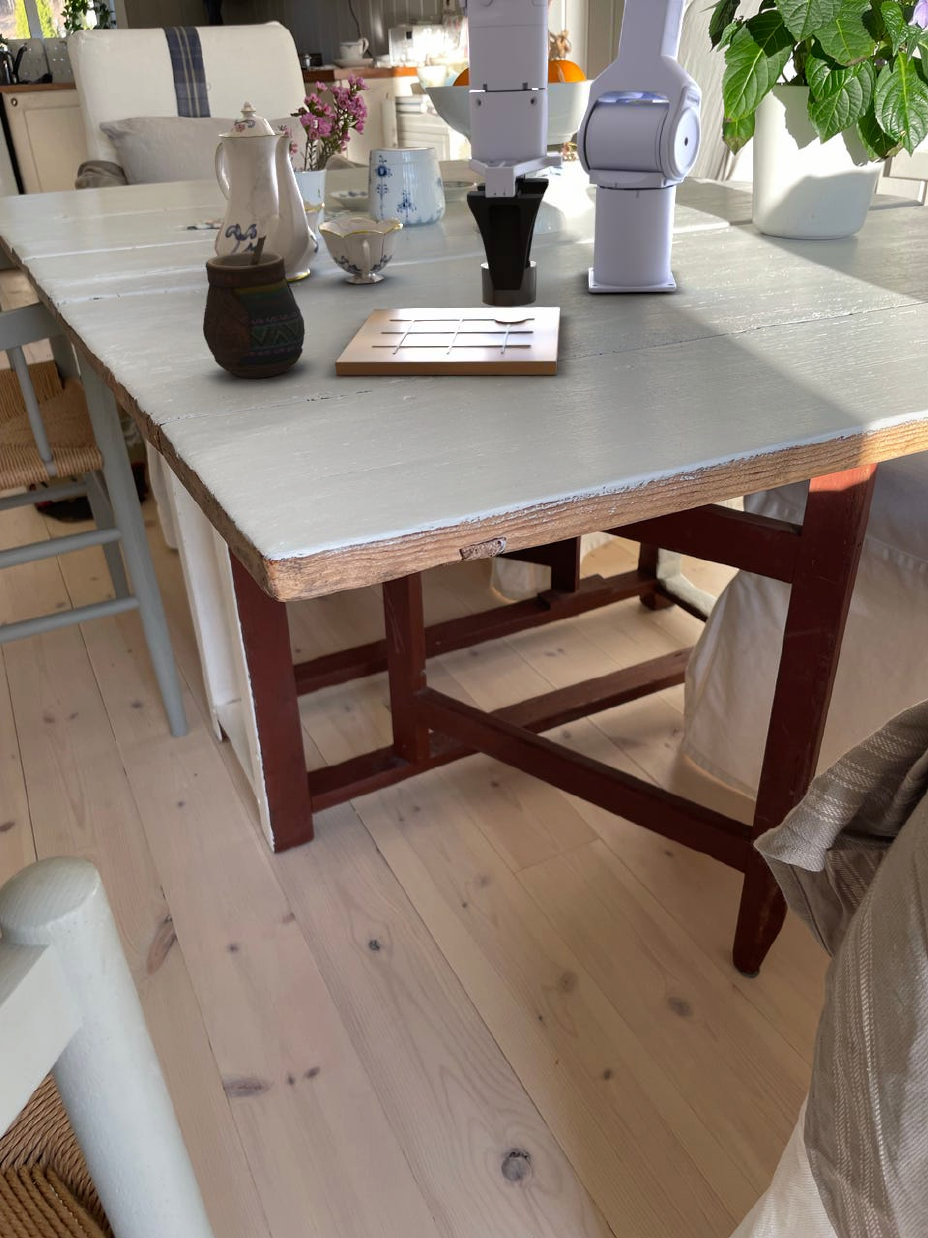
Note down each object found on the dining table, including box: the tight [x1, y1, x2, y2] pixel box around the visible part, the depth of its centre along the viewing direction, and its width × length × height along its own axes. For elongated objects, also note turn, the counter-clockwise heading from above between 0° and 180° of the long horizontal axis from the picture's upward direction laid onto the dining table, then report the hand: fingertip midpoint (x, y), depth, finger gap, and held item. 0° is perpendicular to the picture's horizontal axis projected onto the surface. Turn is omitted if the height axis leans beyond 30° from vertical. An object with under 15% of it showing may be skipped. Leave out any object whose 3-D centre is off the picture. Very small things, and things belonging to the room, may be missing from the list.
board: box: [334, 306, 561, 376], centre depth 77 cm, size 16×16×1 cm
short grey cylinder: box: [480, 259, 538, 308], centre depth 78 cm, size 4×4×3 cm
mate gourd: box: [202, 235, 306, 379], centre depth 70 cm, size 7×8×10 cm
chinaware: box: [213, 100, 404, 285], centre depth 100 cm, size 28×17×17 cm, turn 40°
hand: (510, 282), depth 78 cm, fingers closed on short grey cylinder, 4 cm apart
